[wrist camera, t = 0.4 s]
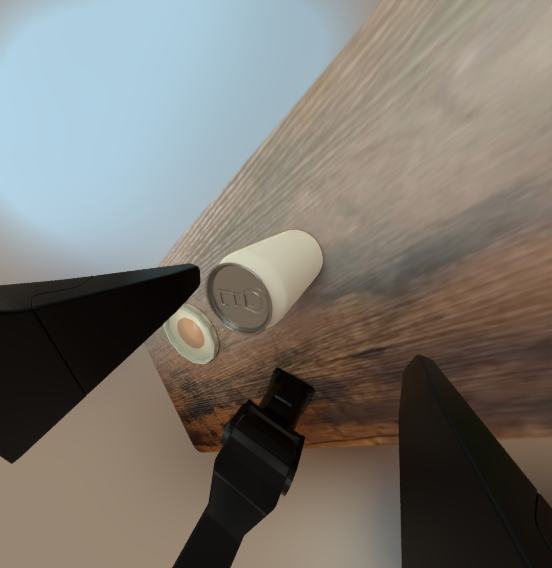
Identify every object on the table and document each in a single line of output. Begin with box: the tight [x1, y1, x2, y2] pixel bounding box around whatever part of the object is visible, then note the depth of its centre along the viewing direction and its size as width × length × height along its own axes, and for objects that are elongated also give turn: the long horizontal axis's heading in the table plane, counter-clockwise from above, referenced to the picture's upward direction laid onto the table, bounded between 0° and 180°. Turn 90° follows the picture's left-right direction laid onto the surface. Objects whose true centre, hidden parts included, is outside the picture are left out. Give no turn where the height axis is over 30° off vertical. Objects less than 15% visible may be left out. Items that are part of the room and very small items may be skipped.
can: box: [205, 230, 323, 335], centre depth 20 cm, size 6×6×12 cm
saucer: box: [163, 303, 219, 364], centre depth 39 cm, size 12×12×1 cm
